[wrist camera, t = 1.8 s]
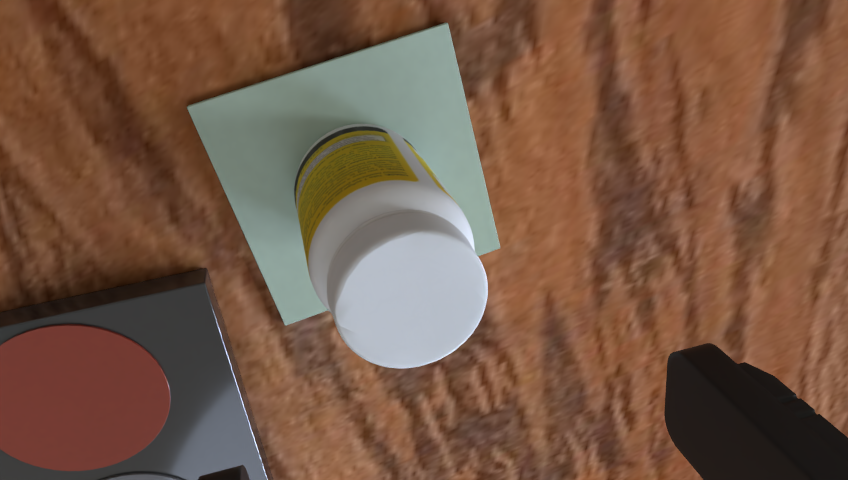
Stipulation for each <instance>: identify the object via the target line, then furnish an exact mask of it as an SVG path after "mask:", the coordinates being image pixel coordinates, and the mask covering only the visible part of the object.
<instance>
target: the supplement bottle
mask: <svg viewBox="0 0 848 480" xmlns="http://www.w3.org/2000/svg"><path fill="white" fill-rule="evenodd" d="M294 197H295V205H296V209H297V213H298V219H299V223H300V229H301V235H302V240H303V245H304V251H305V256H306V261H307V266H308V272H309V276H310V279H311V283H312V285H313V287H314V290H315V292H316V294H317V296H318V297H319V299H320V301H321V302H322V303H323V305H324V306H325V307H326V308H327V309H328V310H329V311H330V312H331V313H332V315H333V318H334V320H335V324H336V326H337V329H338V332H339V333H340V335H341V337H342V339H343V340H344V342H345V343H346V344H347V346H348V347H349V348H350V349H351V350H352V351H354V352H355V353H356V354H357V355H359V356H360V357H362V358H363V359H365V360H367V361H369V362H371V363H374V364H377V365H380V366H384V367H390V368H412V367H418V366H422V365H425V364H429V363H432V362H434V361H437V360H439V359H441V358H443V357H445V356H447V355H449V354H450V353H452V352H453V351H454V350H456V349H457V348H458V347H459V346H460V345H462V344H463V343H464V342H465V341H466V340H467V339H468V338H469V337H470V335H471V334H472V333H473V331H474V330H475V328H476V327H477V325H478V324H479V322H480V320H481V318H482V315H483V313H484V310H485V306H486V302H487V296H488V283H487V277H486V273H485V270H484V267H483V265H482V263H481V261H480V259H479V257H478V256H477V254H476V253H475V249H474V239H473V234H472V231H471V228H470V225H469V223H468V221H467V218H466V217H465V215H464V213H463V211H462V210H461V208H460V207H459V205H458V204H457V203H456V201H455V200H454V199H453V198H452V196H451V195H450V194H449V193H448V191H447V190H446V189H445V187H444V186H443V185H442V183H441V182H440V181H439V179H438V178H437V177H436V175H435V174H434V173H433V171H432V170H431V169H430V167H429V166H428V165H427V164H426V162H425V161H424V159H423V158H422V157H421V156H420V155H419V153H418V152H417V151H416V149H415V148H414V147H413V146H412V145H411V144H410V143H409V142H408V141H407V140H406V139H405V138H404V137H402V136H401V135H400V134H398V133H396V132H394V131H393V130H390V129H388V128H385V127H381V126H377V125H372V124H351V125H346V126H342V127H339V128H337V129H334V130H332V131H330V132H328V133H327V134H325V135H324V136H322V137H321V138H320V139H318V140H317V141H316V142H315V143H314V144H313V145H312V146H311V147H310V148H309V150H308V151H307V152H306V154H305V155H304V157H303V159H302V160H301V162H300V165H299V167H298V170H297V173H296V178H295V186H294Z"/></svg>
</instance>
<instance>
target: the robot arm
mask: <svg viewBox="0 0 848 480" xmlns="http://www.w3.org/2000/svg"><path fill="white" fill-rule="evenodd" d="M665 422H666V426H667V429H668V432H669V435H670V437H671V439H672V441H673V442H674V444H675V446H676V447H677V448H678V449H679V451H680V452H681V453H682V454H683V455H684V457H685V458H686V459H687V460H688V461H689V463H690V464H691V465H692V466H693V467H694V469H695V470H696V471H697V472H698V473H699V474H700V476H701V477H702V478H703V479H704V480H848V438H847V437H846V436H845V435H844V434H843V433H841V432H840V431H839V430H838V429H837V428H835V427H834V426H833V425H832V424H831V423H830V422H828V421H827V420H826V419H825V418H824V417H822V416H821V415H820V414H818V415H817V414H816V413H815V410H814V409H813V408H812V407H810V406H809V405H808V404H807V403H806V402H804V401H803V400H802V399H801V398H800V399H798V398H797V397H796V394H795V393H794V392H792V391H791V390H790V389H789V388H788V387H786V386H785V385H784V384H783V383H782V382H781V381H779V380H778V379H777V378H776V377H775V376H773V375H771V374H769V373H767V372H764V371H762V370H760V369H758V368H756V367H754V366H752V365H749V364H747V363H745V362H744V363H740V364H736V363H735V362H734V361H733V360H732V359H731V358H730V357H728V356H727V355H726V354H725V353H724V352H723V351H722V350H720V349H719V348H718V347H717V346H715V345H713V344H710V343H707V344H703V345H699V346H696V347H692V348H688V349H684V350H680V351H677V352H673V353H671V354H670V356H669V358H668V363H667V380H666V397H665ZM198 480H250V479H249V476H248V473H247V470H246V468H245V466H244V465H240V466H236V467H232V468H229V469H225V470H221V471H217V472H214V473H210V474H206V475H202V476H200V477H199V478H198Z"/></svg>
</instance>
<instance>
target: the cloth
mask: <svg viewBox="0 0 848 480" xmlns="http://www.w3.org/2000/svg"><path fill="white" fill-rule="evenodd" d="M187 109H188V111H189V114H190V116H191V118H192V120H193V122H194V125H195V127H196V129H197V131H198V133H199V136H200V138H201V140H202V142H203V145H204V147H205V149H206V151H207V153H208V156H209V158H210V160H211V162H212V165H213V167H214V169H215V171H216V173H217V176H218V178H219V180H220V182H221V184H222V187H223V189H224V191H225V193H226V196H227V198H228V200H229V202H230V204H231V207H232V209H233V211H234V213H235V216H236V218H237V220H238V222H239V224H240V227H241V229H242V231H243V233H244V235H245V238H246V240H247V242H248V244H249V247H250V249H251V251H252V253H253V255H254V258H255V260H256V262H257V264H258V266H259V269H260V271H261V273H262V275H263V278H264V280H265V282H266V284H267V286H268V289H269V291H270V293H271V295H272V298H273V300H274V302H275V304H276V306H277V309H278V311H279V313H280V315H281V317H282V320H283V322H284V324H285V325H288V324H291V323H294V322H297V321H299V320H302V319H305V318H308V317H310V316H313V315H316V314H319V313H321V312H324V311H327V310H328V309H327V308H326V307H325V306H324V305H323V303H322V302H321V301H320V299H319V297H318V296H317V294H316V292H315V290H314V287H313V285H312V283H311V279H310V276H309V272H308V266H307V261H306V256H305V251H304V245H303V240H302V235H301V229H300V223H299V219H298V213H297V209H296V205H295V197H294V186H295V178H296V173H297V170H298V167H299V165H300V162H301V160H302V159H303V157H304V155H305V154H306V152H307V151H308V150H309V148H310V147H311V146H312V145H313V144H314V143H315V142H316V141H317V140H318V139H320V138H321V137H322V136H324V135H325V134H327V133H328V132H330V131H332V130H334V129H337V128H339V127H342V126H346V125H351V124H372V125H377V126H381V127H385V128H388V129H390V130H393V131H394V132H396V133H398V134H400V135H401V136H402V137H404V138H405V139H406V140H407V141H408V142H409V143H410V144H411V145H412V146H413V147H414V148H415V149H416V151H417V152H418V153H419V155H420V156H421V157H422V158H423V159H424V161H425V162H426V164H427V165H428V166H429V167H430V169H431V170H432V171H433V173H434V174H435V175H436V177H437V178H438V179H439V181H440V182H441V183H442V185H443V186H444V187H445V189H446V190H447V191H448V193H449V194H450V195H451V196H452V198H453V199H454V200H455V201H456V203H457V204H458V205H459V207H460V208H461V210H462V211H463V213H464V215H465V217H466V218H467V221H468V223H469V225H470V228H471V231H472V234H473V239H474V249H475V253H476V254H477V256H480V255H482V254H485V253H488V252H491V251H493V250H496V249H499V248H500V244H499V240H498V236H497V231H496V227H495V223H494V219H493V214H492V210H491V206H490V202H489V197H488V193H487V189H486V184H485V180H484V176H483V172H482V167H481V163H480V159H479V154H478V150H477V146H476V142H475V137H474V133H473V129H472V124H471V120H470V116H469V112H468V107H467V103H466V99H465V95H464V90H463V86H462V82H461V77H460V73H459V69H458V65H457V60H456V56H455V52H454V47H453V43H452V39H451V35H450V30H449V26H448V23H443V24H440V25H437V26H433V27H430V28H427V29H424V30H421V31H418V32H415V33H412V34H409V35H405V36H402V37H399V38H396V39H393V40H390V41H387V42H384V43H381V44H378V45H374V46H371V47H368V48H365V49H362V50H359V51H356V52H353V53H350V54H346V55H343V56H340V57H337V58H334V59H331V60H328V61H325V62H322V63H319V64H315V65H312V66H309V67H306V68H303V69H300V70H297V71H294V72H291V73H287V74H284V75H281V76H278V77H275V78H272V79H269V80H266V81H263V82H260V83H256V84H253V85H250V86H247V87H244V88H241V89H238V90H235V91H232V92H228V93H225V94H222V95H219V96H216V97H213V98H210V99H207V100H204V101H200V102H197V103H194V104H191V105H188V106H187Z"/></svg>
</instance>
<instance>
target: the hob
mask: <svg viewBox="0 0 848 480" xmlns="http://www.w3.org/2000/svg"><path fill="white" fill-rule="evenodd" d="M240 465H244V466H245V468H246V470H247V473H248V476H249V479H250V480H273V477H272V474H271V471H270V468H269V465H268V461H267V458H266V455H265V452H264V449H263V445H262V442H261V439H260V436H259V433H258V430H257V426H256V423H255V420H254V417H253V414H252V410H251V407H250V404H249V401H248V398H247V395H246V391H245V388H244V385H243V382H242V379H241V375H240V372H239V369H238V366H237V363H236V359H235V356H234V353H233V350H232V347H231V344H230V340H229V337H228V334H227V331H226V328H225V324H224V321H223V318H222V315H221V312H220V309H219V305H218V302H217V299H216V296H215V293H214V289H213V286H212V283H211V280H210V277H209V273H208V270H207V269H206V268H204V269H199V270H194V271H190V272H185V273H181V274H176V275H171V276H167V277H162V278H157V279H153V280H148V281H143V282H139V283H134V284H129V285H125V286H120V287H116V288H111V289H106V290H102V291H97V292H92V293H88V294H83V295H78V296H74V297H69V298H64V299H60V300H55V301H51V302H46V303H41V304H37V305H32V306H27V307H23V308H18V309H13V310H9V311H4V312H0V480H198V478H199V477H200V476H202V475H206V474H210V473H214V472H217V471H221V470H225V469H229V468H232V467H236V466H240Z"/></svg>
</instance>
